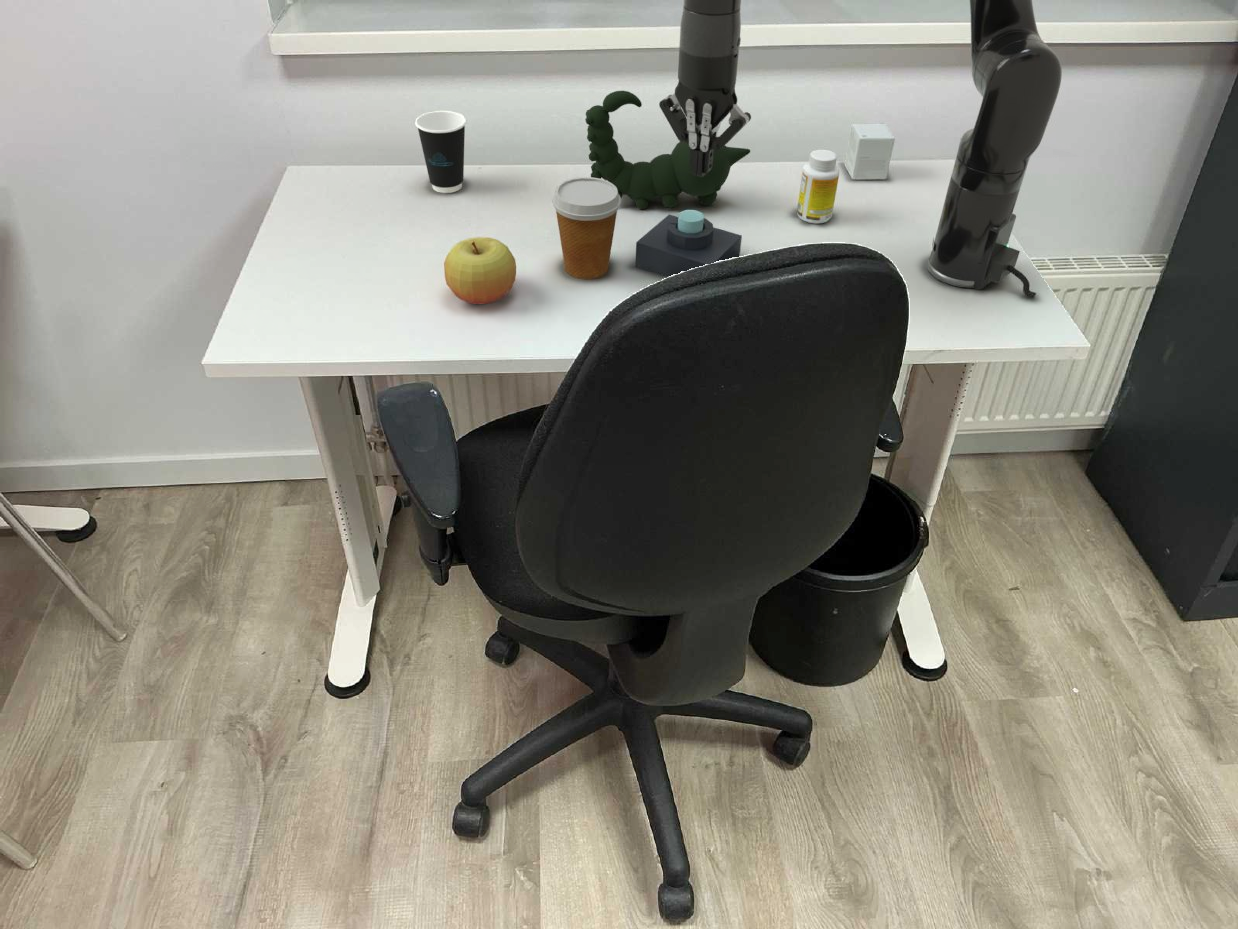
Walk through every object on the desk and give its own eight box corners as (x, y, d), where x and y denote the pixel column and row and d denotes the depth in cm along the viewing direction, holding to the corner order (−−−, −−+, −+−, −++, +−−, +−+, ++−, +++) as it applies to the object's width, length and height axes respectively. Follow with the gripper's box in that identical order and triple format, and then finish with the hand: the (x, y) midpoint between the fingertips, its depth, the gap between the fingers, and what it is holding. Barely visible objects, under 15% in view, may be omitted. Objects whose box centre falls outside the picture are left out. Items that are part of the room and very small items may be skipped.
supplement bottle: (838, 218, 157) (850, 156, 150) (814, 228, 154) (825, 165, 147) (812, 204, 160) (822, 143, 153) (788, 214, 157) (797, 153, 150)
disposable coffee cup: (561, 289, 139) (560, 210, 131) (547, 255, 146) (545, 179, 138) (627, 280, 141) (629, 203, 133) (609, 248, 148) (611, 172, 140)
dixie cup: (432, 201, 158) (425, 134, 151) (415, 180, 163) (407, 115, 156) (479, 191, 161) (474, 125, 154) (461, 171, 166) (455, 106, 159)
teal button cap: (707, 226, 142) (708, 213, 141) (695, 237, 140) (696, 223, 138) (684, 220, 143) (685, 207, 142) (673, 230, 141) (674, 217, 140)
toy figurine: (593, 224, 157) (752, 214, 156) (582, 106, 144) (754, 94, 143) (594, 196, 164) (746, 186, 163) (584, 81, 151) (748, 70, 150)
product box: (887, 180, 167) (896, 138, 162) (851, 180, 167) (859, 138, 162) (878, 164, 172) (886, 122, 167) (843, 164, 171) (851, 122, 167)
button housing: (739, 259, 146) (743, 222, 142) (709, 290, 140) (712, 252, 136) (667, 238, 151) (669, 201, 147) (635, 266, 144) (636, 229, 140)
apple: (448, 276, 141) (442, 225, 136) (516, 274, 142) (514, 223, 137) (445, 315, 134) (439, 262, 128) (518, 312, 135) (515, 260, 129)
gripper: (648, 43, 125) (645, 172, 137) (744, 63, 120) (732, 195, 132) (676, 26, 130) (670, 152, 141) (769, 44, 125) (755, 174, 137)
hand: (700, 173), depth 137 cm, fingers closed
